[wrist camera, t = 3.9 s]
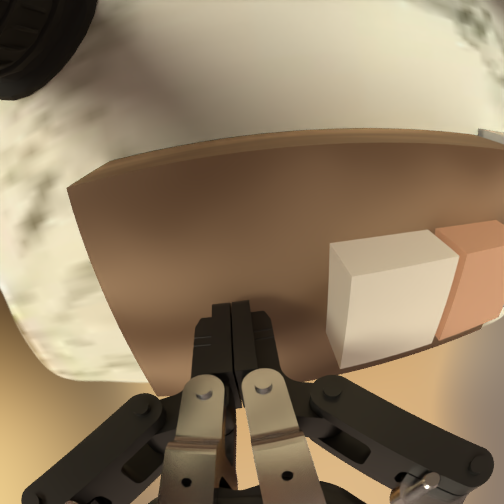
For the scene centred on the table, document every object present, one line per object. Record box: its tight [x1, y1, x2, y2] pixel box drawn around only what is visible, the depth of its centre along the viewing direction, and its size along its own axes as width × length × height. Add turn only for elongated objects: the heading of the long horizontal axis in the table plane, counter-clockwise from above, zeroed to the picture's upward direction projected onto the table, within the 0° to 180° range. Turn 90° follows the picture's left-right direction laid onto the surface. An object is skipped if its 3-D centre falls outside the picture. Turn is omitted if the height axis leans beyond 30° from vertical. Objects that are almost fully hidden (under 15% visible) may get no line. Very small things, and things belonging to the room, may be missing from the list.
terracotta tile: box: [435, 220, 504, 341], centre depth 12 cm, size 5×5×2 cm
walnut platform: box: [67, 128, 504, 396], centre depth 15 cm, size 13×23×5 cm, turn 96°
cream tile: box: [326, 230, 459, 369], centre depth 12 cm, size 5×5×2 cm
